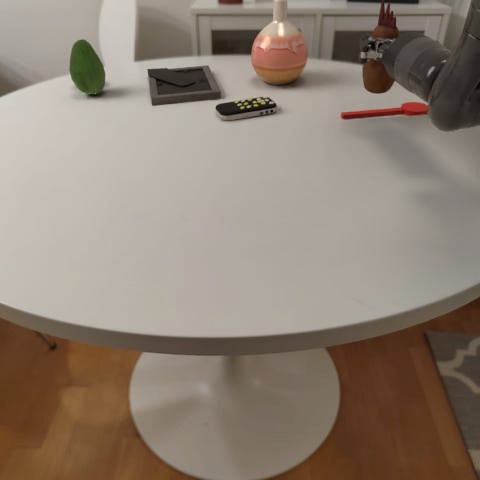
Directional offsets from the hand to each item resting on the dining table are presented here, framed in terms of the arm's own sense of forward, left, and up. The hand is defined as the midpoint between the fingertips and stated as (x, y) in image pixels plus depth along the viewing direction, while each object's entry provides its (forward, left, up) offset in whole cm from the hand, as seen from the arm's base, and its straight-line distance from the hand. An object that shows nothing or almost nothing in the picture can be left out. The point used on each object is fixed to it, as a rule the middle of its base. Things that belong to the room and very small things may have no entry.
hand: (378, 38), depth 84 cm
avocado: (+59, -29, -15) cm, 67 cm away
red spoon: (-4, -2, -15) cm, 16 cm away
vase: (+13, -28, -15) cm, 34 cm away
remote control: (+24, -9, -15) cm, 30 cm away
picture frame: (+37, -29, -15) cm, 49 cm away
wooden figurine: (0, +3, -9) cm, 9 cm away
